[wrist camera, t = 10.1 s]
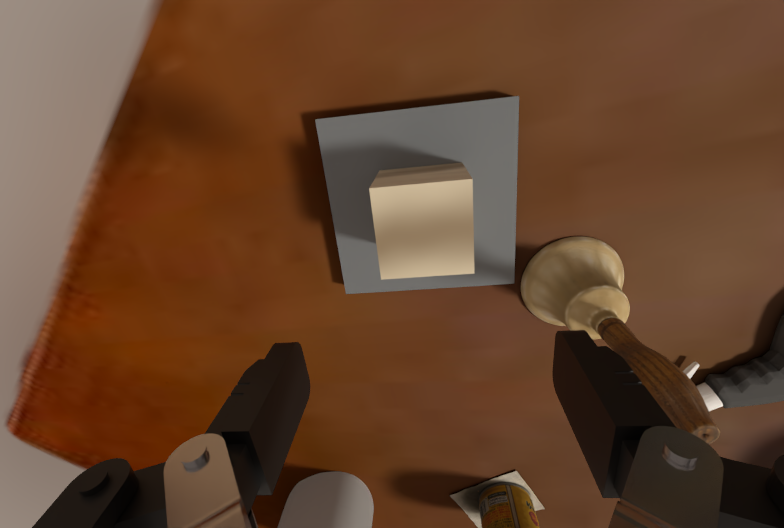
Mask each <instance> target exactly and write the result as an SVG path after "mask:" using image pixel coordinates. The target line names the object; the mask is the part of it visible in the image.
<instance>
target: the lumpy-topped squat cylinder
mask: <svg viewBox="0 0 784 528" xmlns="http://www.w3.org/2000/svg"><path fill="white" fill-rule="evenodd" d="M373 511H374V505H373V499H372V496H371V493H370V491H369V489H368V488H367V486H366V485H365V484H364V483H363V482H362V481H361V480H360V479H359V478H357V477H356V476H354V475H351V474H349V473H345V472H323V473H318V474H315V475H313V476H310V477H308V478H306V479H304V480H302V481H300V482H298V483H297V484H296V486H295V487H294V488H293V490H292V491H291V493H290V495H289V497H288V499H287V501H286V504H285V507H284V510H283V513H282V516H281V519H280V522H279V525H278V528H372V519H373Z"/></svg>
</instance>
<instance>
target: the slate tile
mask: <svg viewBox="0 0 784 528" xmlns="http://www.w3.org/2000/svg"><path fill="white" fill-rule="evenodd" d="M315 122H316V128H317V133H318V139H319V145H320V150H321V156H322V162H323V167H324V173H325V178H326V184H327V190H328V195H329V201H330V207H331V212H332V218H333V223H334V229H335V235H336V240H337V246H338V252H339V257H340V263H341V268H342V274H343V280H344V285H345V291H346V294H354V293H370V292H387V291H403V290H419V289H435V288H451V287H468V286H484V285H500V284H514V277H515V239H516V200H517V161H518V122H519V96H510V97H502V98H493V99H484V100H476V101H467V102H458V103H450V104H441V105H432V106H424V107H415V108H406V109H398V110H389V111H380V112H372V113H363V114H354V115H346V116H337V117H328V118H320V119H315ZM461 162H462V163H463V165H464V166H465V168H466V169H467V171H468V172H469V174H470V176H471V177H472V179H473V224H474V272H475V274H460V275H445V276H429V277H414V278H398V279H383V280H381V275H380V267H379V260H378V252H377V245H376V237H375V229H374V222H373V214H372V207H371V199H370V192H369V188H370V186H371V184H372V183H373V181H374V179H375V177H376V176H377V174H378V172H379V171H380V170H389V169H400V168H410V167H420V166H431V165H441V164H451V163H461Z"/></svg>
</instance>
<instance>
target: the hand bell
mask: <svg viewBox="0 0 784 528" xmlns="http://www.w3.org/2000/svg"><path fill="white" fill-rule="evenodd" d="M623 282H624V269H623V265H622V262H621V259H620V257H619V256H618V254H617V253H616V252H615V251H614V249H613V248H612V247H611V246H609V245H608V244H606V243H604V242H602V241H600V240H598V239H595V238H591V237H584V236H575V237H568V238H564V239H560V240H558V241H555V242H553V243H551V244H549V245H547V246H545V247H544V248H543V249H541V250H540V251H539V252H538V253H537V254H536V255H535V256H534V257H533V258H532V259H531V260H530V261H529V263H528V265H527V266H526V268H525V270H524V273H523V275H522V279H521V295H522V298H523V301H524V303H525V305H526V307H527V308H528V309H529V311H530V312H531V313H532V314H533V315H535V316H536V317H537V318H539V319H541V320H543V321H545V322H547V323H550V324H554V325H560V326H567V327H568V328H569V329H570V331H571V330H585V331H587V333H588V334H589V336H590V337H591V338H592V339H600V338H602V339H603V340H605V342H606V343H607V344H608V345H609V346H610V347H611V348H612V349H613V351H614V352H616V353H617V354H619V355H620V356H622V357H623V358H624V359H625V361H626V362H627V363H628V365H629V366H630V367H631V369H632V370H633V373H634V374H636V375H637V376H638V378H639V379H640V380H641V382H642V385H644V386H645V387H646V388H647V390H648V391H649V392H650V393H651V395H652V396H653V397H654V399H655V400H656V401H657V403H658V404H659V405H660V407H661V408H662V409H663V411H664V412H665V413H666V414H667V416H668V417H669V418H670V420H671V421H672V422H673V424H674V425H675V426H676V428H679V429H682V430H685V431H687V432H689V433H692V434H694V435H695V436H697V437H699V438H700V439H702V440H703V441H705V442H706V443H707V444H710V443H713V442H714V441H715V440H716V439H717V438H718V437H719V434H720V431H719V429H718V427H717V426H716V424H715V423H714V421H713V419H712V418H711V416H710V414H709V411H708V409H707V406H706V404H705V402H704V400H703V397H702V396H701V394H700V392H699V390H698V389H697V387H696V386H695V384H694V383H693V382H692V380H691V379H690V378H689V377H688V376H687V375H686V374H685V373H684V372H683V371H682V370H681V369H680V368H679V367H677V366H676V365H675V364H674V363H673V362H671V361H670V360H669V359H667V358H666V357H664V356H663V355H661V354H660V353H658V352H656V351H654V350H652V349H650V348H648V347H646V346H645V345H643V344H642V343H641V342H640V341H639V340H638V339H637V338H636V337H635V335H634V334H633V333H632V332H631V331H630V329H629V328H628V327H627V326H626V325H625V322H626V321H627V318H628V316H629V310H630V307H629V302H628V299H627V297H626V295H625V294H624V293H623V292H622V286H623Z"/></svg>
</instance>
